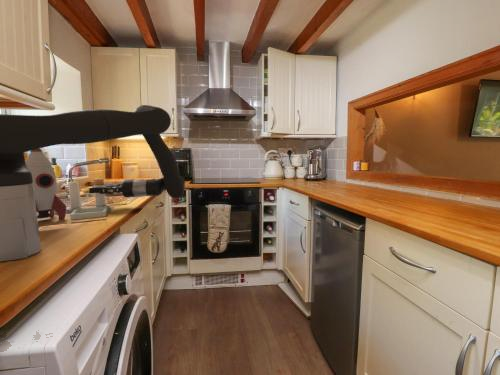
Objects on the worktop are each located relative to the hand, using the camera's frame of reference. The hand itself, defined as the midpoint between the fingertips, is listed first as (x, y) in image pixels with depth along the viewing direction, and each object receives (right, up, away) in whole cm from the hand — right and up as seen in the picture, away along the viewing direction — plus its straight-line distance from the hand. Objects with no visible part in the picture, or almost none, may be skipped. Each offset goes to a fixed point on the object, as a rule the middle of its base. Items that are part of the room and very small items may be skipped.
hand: (92, 189), depth 111 cm
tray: (+4, -11, -8) cm, 14 cm away
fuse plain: (-5, -9, -2) cm, 10 cm away
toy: (-8, -12, -15) cm, 21 cm away
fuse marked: (+3, -7, +1) cm, 8 cm away
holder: (-5, -10, -2) cm, 12 cm away
